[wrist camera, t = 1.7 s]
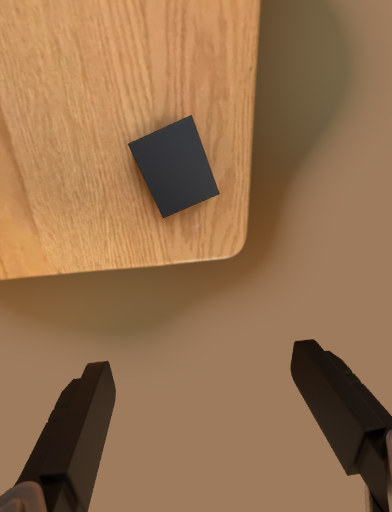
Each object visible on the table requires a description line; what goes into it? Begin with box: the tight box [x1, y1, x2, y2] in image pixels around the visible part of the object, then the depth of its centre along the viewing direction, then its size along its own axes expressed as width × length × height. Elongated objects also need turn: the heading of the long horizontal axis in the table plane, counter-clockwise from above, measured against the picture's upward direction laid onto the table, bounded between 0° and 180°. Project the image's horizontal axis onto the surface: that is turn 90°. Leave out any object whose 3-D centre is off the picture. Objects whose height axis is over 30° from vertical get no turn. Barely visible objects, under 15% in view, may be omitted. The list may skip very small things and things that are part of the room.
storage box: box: [128, 115, 219, 218], centre depth 21 cm, size 7×6×4 cm
